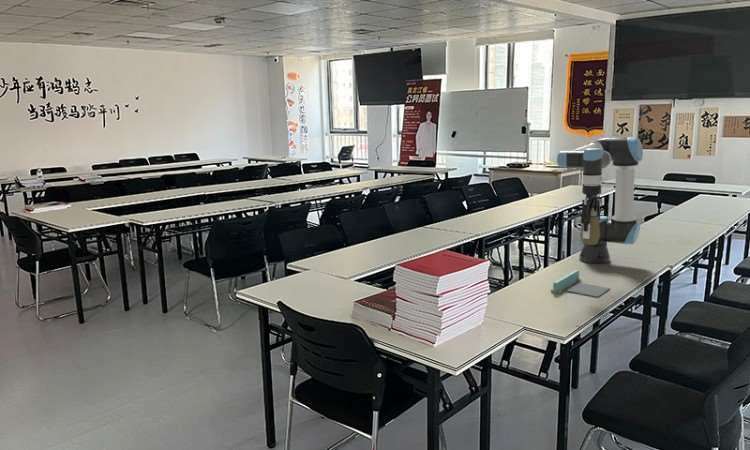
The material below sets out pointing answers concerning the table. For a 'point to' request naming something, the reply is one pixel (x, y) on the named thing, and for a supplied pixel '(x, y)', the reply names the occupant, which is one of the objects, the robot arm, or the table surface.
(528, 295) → the table surface
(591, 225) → the squeeze bottle
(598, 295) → the mat
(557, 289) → the fence
